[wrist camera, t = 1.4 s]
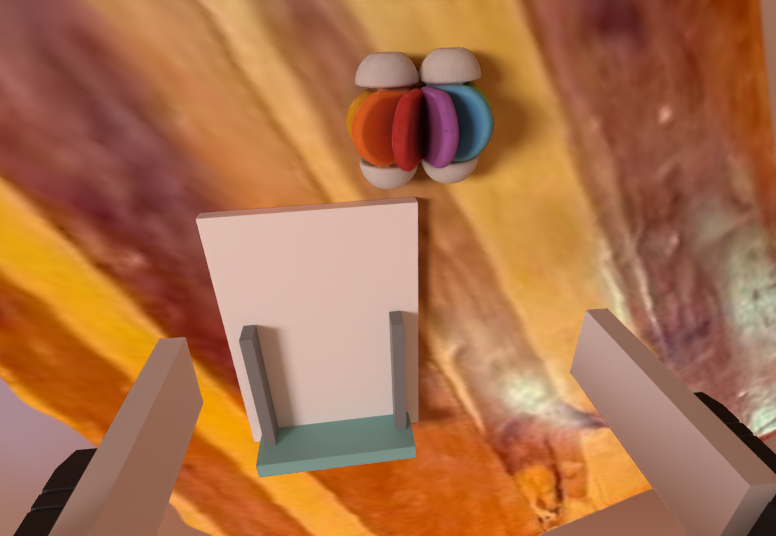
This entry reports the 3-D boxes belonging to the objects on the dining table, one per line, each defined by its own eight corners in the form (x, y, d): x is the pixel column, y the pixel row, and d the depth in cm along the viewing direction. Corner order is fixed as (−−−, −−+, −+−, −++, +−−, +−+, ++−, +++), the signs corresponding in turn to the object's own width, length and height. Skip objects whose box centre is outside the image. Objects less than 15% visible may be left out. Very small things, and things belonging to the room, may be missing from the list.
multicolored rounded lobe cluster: (339, 53, 28) (342, 58, 22) (484, 44, 29) (527, 48, 23) (350, 180, 32) (355, 215, 26) (477, 169, 33) (512, 202, 27)
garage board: (200, 213, 32) (178, 242, 28) (414, 196, 33) (428, 222, 29) (256, 431, 43) (247, 478, 38) (416, 412, 44) (426, 456, 40)
